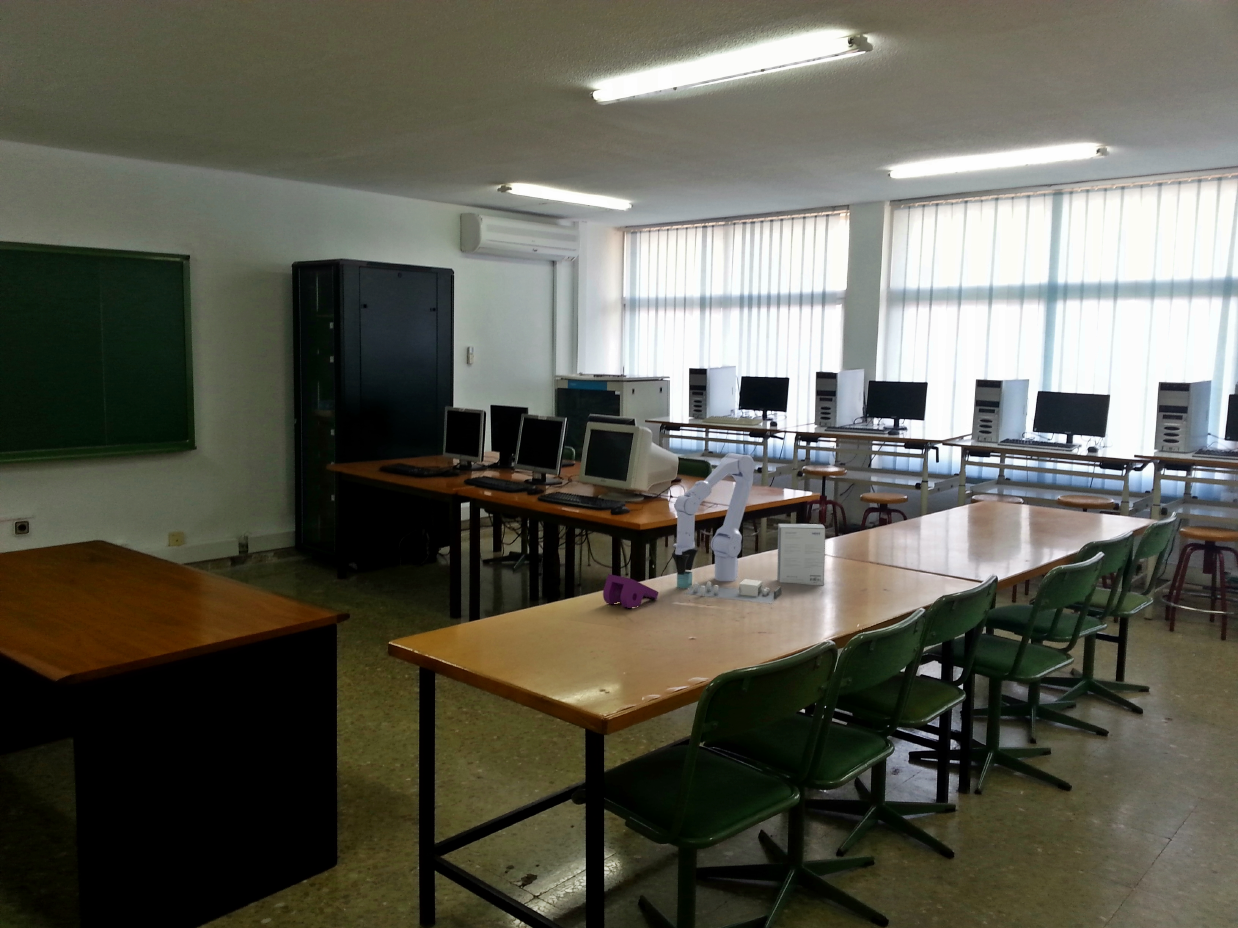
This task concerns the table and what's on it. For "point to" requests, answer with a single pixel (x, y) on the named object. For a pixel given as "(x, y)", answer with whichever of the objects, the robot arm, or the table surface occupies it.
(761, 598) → the base plate
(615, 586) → the mounting bracket
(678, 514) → the robot arm
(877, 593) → the table surface
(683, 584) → the teal block
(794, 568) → the hard drive box
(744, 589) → the block
